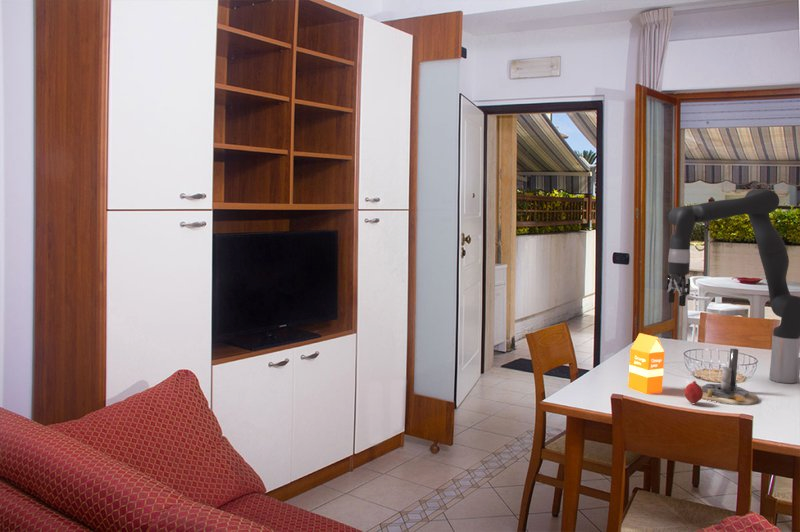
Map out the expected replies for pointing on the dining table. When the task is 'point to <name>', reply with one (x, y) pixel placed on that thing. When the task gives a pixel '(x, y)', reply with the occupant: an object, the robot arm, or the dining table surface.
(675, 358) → the dining table surface
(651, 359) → the orange juice
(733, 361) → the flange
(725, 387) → the post stand
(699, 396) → the onion
